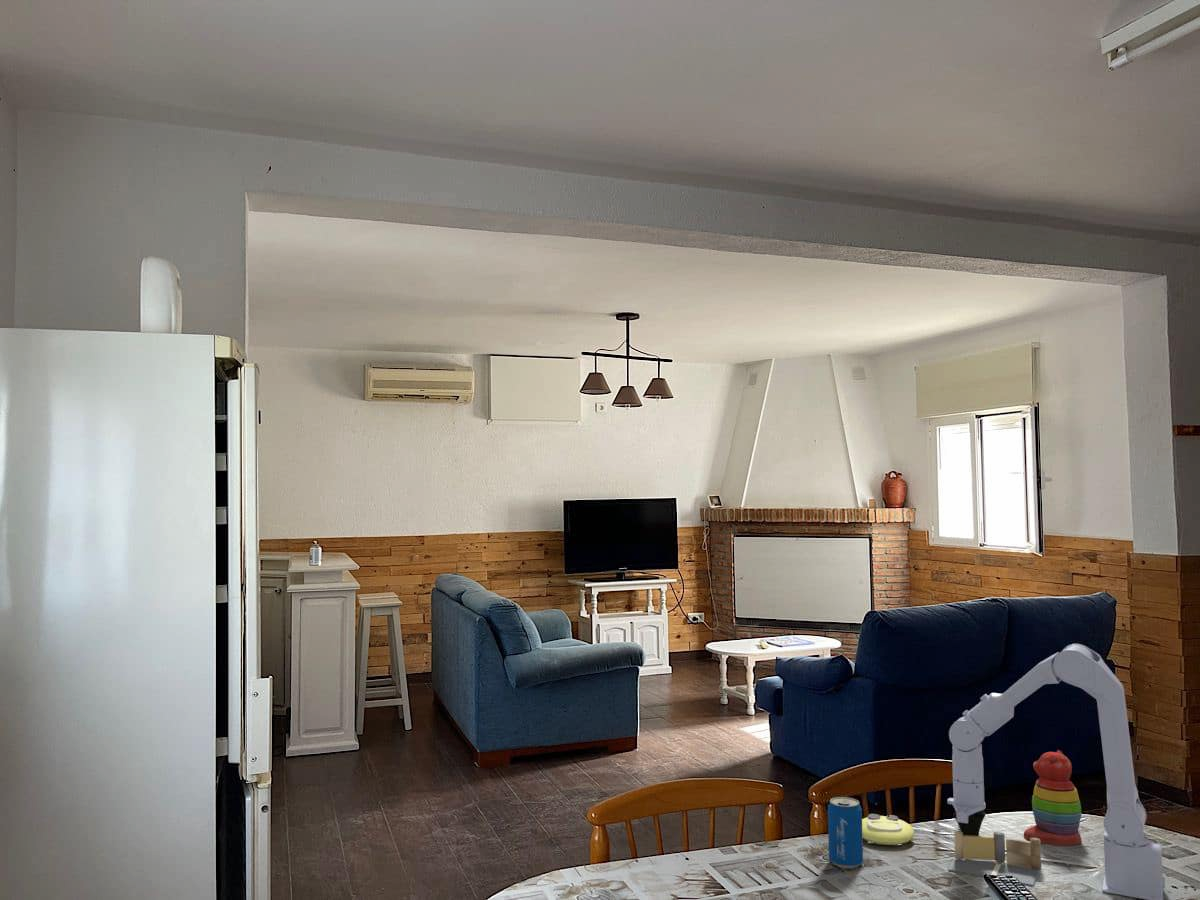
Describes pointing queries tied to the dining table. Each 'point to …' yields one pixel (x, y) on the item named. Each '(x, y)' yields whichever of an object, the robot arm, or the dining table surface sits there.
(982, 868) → the card
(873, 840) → the emoji
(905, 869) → the dining table surface
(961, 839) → the fence panel
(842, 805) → the beverage can
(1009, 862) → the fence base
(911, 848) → the dining table surface
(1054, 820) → the stacking bear
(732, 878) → the dining table surface
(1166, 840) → the dining table surface
